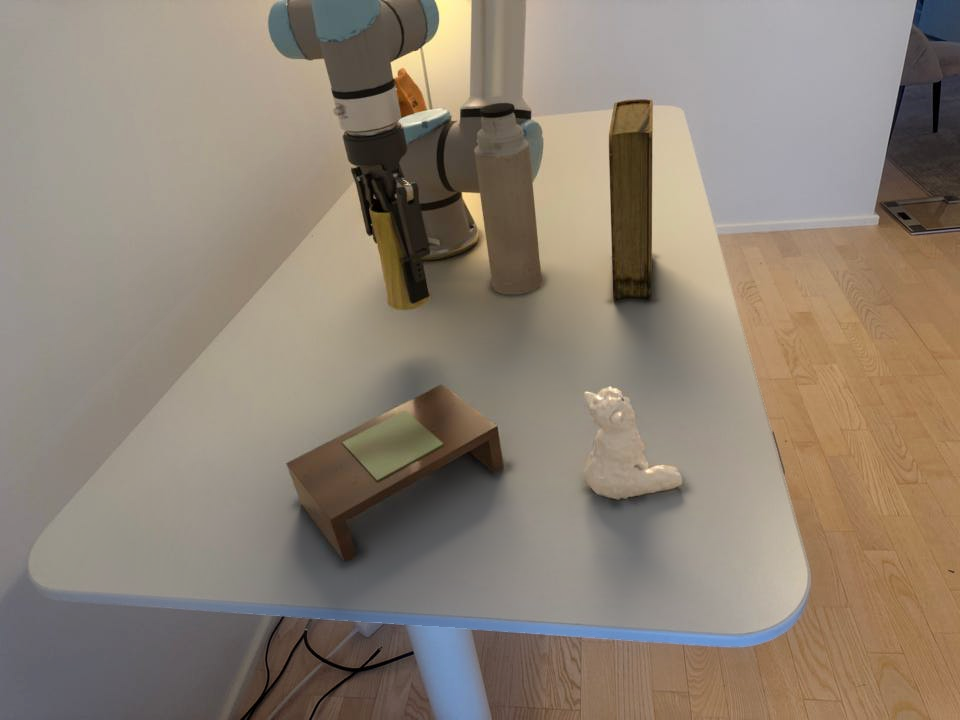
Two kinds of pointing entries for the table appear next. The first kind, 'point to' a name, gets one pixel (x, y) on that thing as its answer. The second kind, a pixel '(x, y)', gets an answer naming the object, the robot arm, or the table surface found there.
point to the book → (631, 197)
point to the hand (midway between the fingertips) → (407, 291)
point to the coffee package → (408, 94)
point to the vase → (392, 262)
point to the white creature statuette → (621, 451)
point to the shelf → (389, 459)
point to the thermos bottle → (507, 201)
